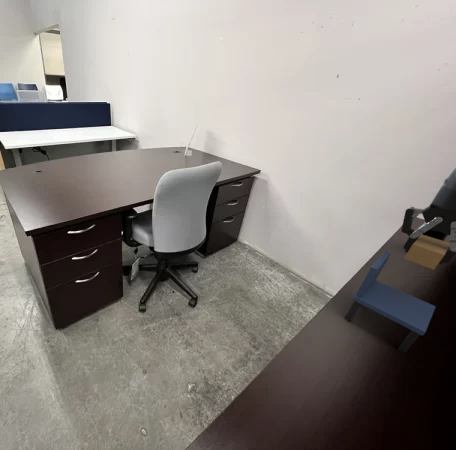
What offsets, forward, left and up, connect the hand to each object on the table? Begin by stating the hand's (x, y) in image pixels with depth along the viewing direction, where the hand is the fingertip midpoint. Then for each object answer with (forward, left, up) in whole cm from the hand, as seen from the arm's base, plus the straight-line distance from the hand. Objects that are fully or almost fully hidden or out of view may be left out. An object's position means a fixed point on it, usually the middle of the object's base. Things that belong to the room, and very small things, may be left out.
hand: (423, 256), depth 57 cm
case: (0, 0, 0) cm, 0 cm away
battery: (+1, -52, -20) cm, 56 cm away
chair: (0, +4, -20) cm, 20 cm away
